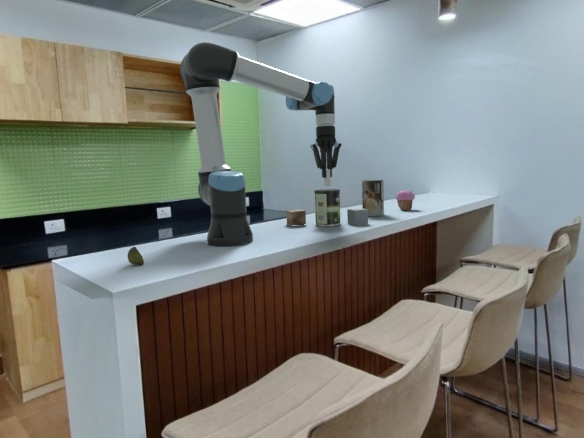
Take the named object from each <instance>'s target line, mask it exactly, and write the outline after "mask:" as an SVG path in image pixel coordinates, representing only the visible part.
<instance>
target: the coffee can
mask: <svg viewBox="0 0 584 438" xmlns="http://www.w3.org/2000/svg"><path fill="white" fill-rule="evenodd" d="M340 191H341V190H340V189H338V188H337V189H336V188H335V189H334V188H332V189H331V188H328V189H327V188H326V189H325V188H324V189H316V190H314V191H313V193H314V212H315V213H314V214H315V218H314V219H315V226H317V227H337V226H340V225H341V194H340Z"/></svg>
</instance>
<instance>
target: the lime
mask: <svg viewBox="0 0 584 438" xmlns="http://www.w3.org/2000/svg"><path fill="white" fill-rule="evenodd" d="M127 260H128V262H129V263H130V264H132V265H134V266H135V265H136V266H141V265H143V264H145V260H144V257H143V256H142V254H141V252H140V251H139V249H137V247H136V246H133V247H131V248H130V249H129V250H128V251H127Z"/></svg>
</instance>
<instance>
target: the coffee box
mask: <svg viewBox="0 0 584 438" xmlns="http://www.w3.org/2000/svg"><path fill="white" fill-rule="evenodd" d="M384 192H385V191H384V180H383V179H367V180H362V181H361V195H362V196H361V199H362V201H361V202H362V205H361V207H362V208H363V209H368V217H383V216H384V215H385V203H384V202H385V199H384V198H385V197H384V194H385V193H384Z"/></svg>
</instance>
